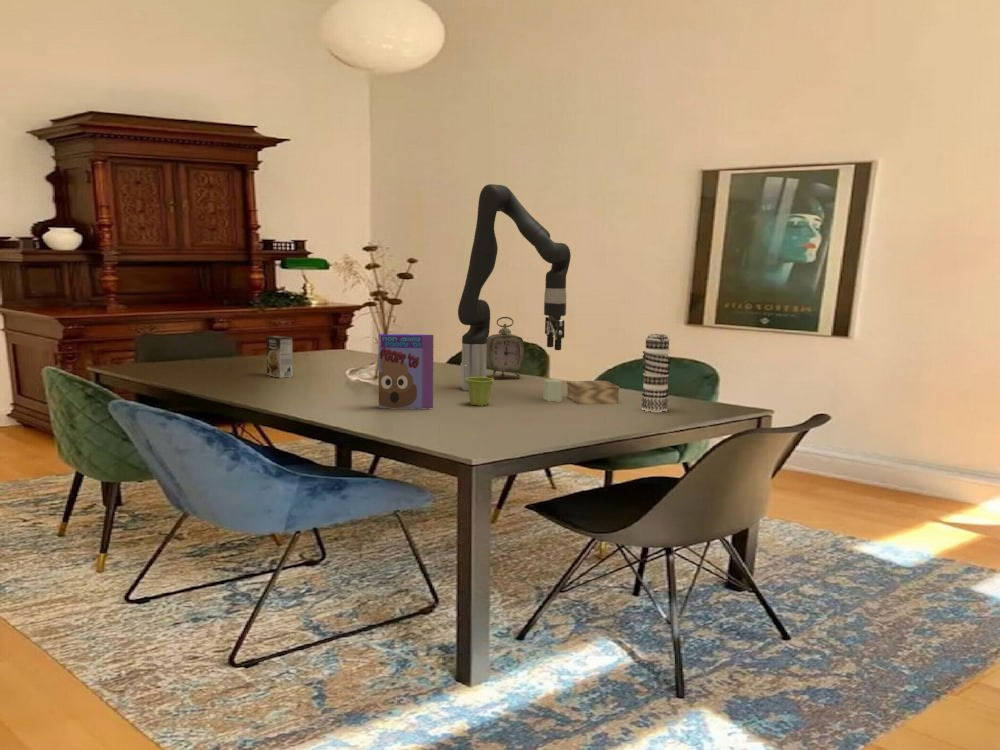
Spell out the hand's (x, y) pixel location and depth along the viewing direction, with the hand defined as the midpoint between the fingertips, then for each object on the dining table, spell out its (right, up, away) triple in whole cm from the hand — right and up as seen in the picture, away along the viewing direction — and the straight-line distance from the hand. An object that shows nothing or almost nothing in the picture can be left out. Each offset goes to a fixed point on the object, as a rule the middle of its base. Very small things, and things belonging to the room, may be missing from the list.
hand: (553, 348), depth 295 cm
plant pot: (-26, -19, -8) cm, 33 cm away
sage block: (0, -18, +3) cm, 18 cm away
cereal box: (-49, -20, -16) cm, 56 cm away
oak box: (+14, -18, +4) cm, 23 cm away
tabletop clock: (-17, -11, +51) cm, 55 cm away
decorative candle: (+32, -21, -13) cm, 41 cm away
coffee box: (-107, -10, +46) cm, 117 cm away
